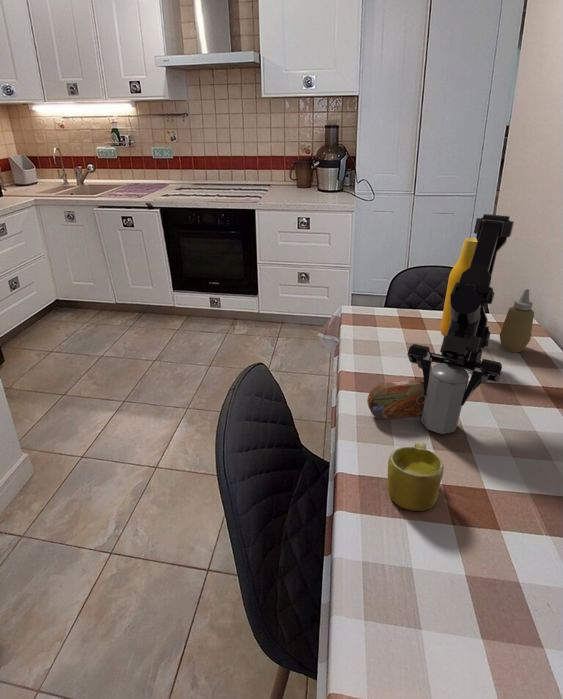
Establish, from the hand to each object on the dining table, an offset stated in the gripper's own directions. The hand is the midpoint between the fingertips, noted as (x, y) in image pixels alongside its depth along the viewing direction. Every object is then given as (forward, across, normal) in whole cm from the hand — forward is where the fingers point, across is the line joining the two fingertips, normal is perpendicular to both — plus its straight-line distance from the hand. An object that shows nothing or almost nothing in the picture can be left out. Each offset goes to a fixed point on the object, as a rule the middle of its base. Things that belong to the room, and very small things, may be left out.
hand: (443, 400), depth 99 cm
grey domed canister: (+4, 0, +6) cm, 7 cm away
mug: (+20, 0, -8) cm, 21 cm away
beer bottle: (-31, -6, +43) cm, 53 cm away
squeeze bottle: (-29, +11, +41) cm, 51 cm away
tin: (+4, -9, +7) cm, 13 cm away
